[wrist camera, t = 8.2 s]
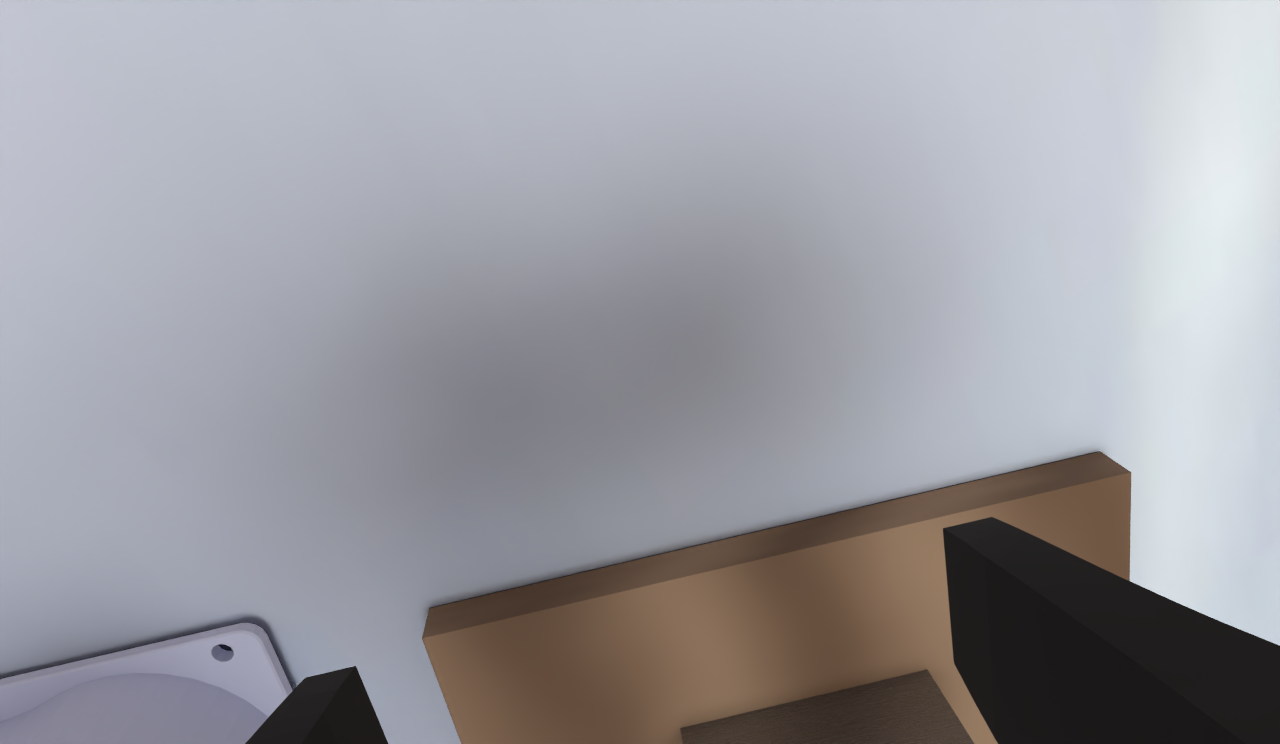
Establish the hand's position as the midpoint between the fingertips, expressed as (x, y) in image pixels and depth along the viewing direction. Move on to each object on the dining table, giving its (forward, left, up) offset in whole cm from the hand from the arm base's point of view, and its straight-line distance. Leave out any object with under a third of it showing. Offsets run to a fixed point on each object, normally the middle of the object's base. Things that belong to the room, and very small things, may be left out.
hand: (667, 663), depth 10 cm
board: (+3, -13, -10) cm, 17 cm away
